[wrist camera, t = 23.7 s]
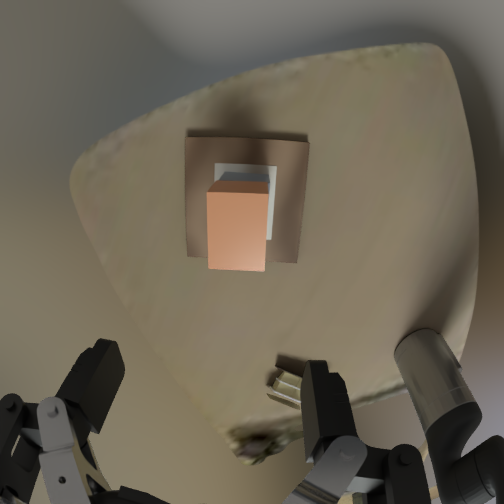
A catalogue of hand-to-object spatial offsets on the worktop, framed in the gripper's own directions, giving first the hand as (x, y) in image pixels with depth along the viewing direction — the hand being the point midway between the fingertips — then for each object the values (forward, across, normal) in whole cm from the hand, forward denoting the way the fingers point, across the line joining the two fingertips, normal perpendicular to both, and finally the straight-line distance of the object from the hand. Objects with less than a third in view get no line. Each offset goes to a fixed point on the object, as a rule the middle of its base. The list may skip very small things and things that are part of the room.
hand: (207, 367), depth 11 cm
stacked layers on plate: (+26, -11, +30) cm, 42 cm away
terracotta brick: (+20, 0, 0) cm, 20 cm away
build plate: (+26, 0, 0) cm, 26 cm away
